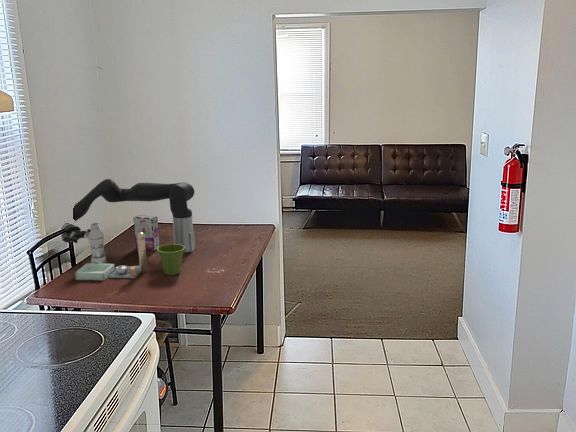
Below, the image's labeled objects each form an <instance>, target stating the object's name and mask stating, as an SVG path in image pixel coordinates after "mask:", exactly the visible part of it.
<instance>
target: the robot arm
mask: <svg viewBox="0 0 576 432" xmlns="http://www.w3.org/2000/svg"><path fill="white" fill-rule="evenodd" d="M194 195H195V189H194V187H193V185H191V184H190V183H188V182H183V181H182V182H177V183H176V182H175V183H159V182H158V183H157V182H138V183H136V184H134V185H133V186H131V187H130V188H121V187H119V186H118V185H117V183H116V182H115V181H114V180H113V179H112V178H107V179H103V180H102V181H101V182H99V183H98V184H97V185H96V186H94V187H93V188H92V189H91V190H90V191H89V192H88V193H87V194H86V195H85V196H84V197H82V198H81V199H80V200H79V201H78V202H76V203H74V205H75V206H74V208H73V219H74V220H75V222H77V221H78V220H80V219H81V218H82V217H84V216H85V215H86V214H87V213H88V211H89V210H90V207H92V206H91V205H92V204H93V203H94V202H95V200H96V199H98V198H99V197H102V198H103V199H104V200H105V201H106V202H109V203H122V202H156V201H157V202H158V201H163V200H167V199H169V207H170V212H171V214H172V227H173V241H174V243H173V244H180V245H183V246H184V247H185V249H184V250H183V254H185V253H193V251H194V250H195V249H196V242H195V241H196V239H195V230H194V228H193V226H194V224H193V210H192V209H191V208H188V203H187V202H188V201H190V200H191V199H192V198H193V197H194ZM67 228H68V231H69V233H68V232H65V233H63V234H62V235H61V236H60V237H61V241H63V242H65V243H66V244H67V243H69V242H70V243H75V244H77V243H78V241H79V240H81V239H89V237H88V236H89V233H90V231H91V228H88V229H86V230H82V229H81V228H80V227H79V226H77V225H74V223H73V224H69V223H65V224H64V225H63V226H62V228H61V229H67Z"/></svg>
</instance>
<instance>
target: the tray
mask: <svg viewBox="0 0 576 432" xmlns="http://www.w3.org/2000/svg"><path fill="white" fill-rule="evenodd" d="M115 268H116V264H115V263H106V264H92V263H91V262H90V263H89V262H88V263H87V262H86V263H85V264H84V265H82V267H80V268H78V270H76V271H75V272H74V278H75V279H74V280H76V281H106V280H107V279H108V278H109V275H111V274H112V273H113V272H114V271H115V270H116V269H115ZM105 279H106V280H105Z"/></svg>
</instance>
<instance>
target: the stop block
mask: <svg viewBox="0 0 576 432" xmlns="http://www.w3.org/2000/svg"><path fill="white" fill-rule="evenodd" d="M131 275H135V267H131Z"/></svg>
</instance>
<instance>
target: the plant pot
mask: <svg viewBox="0 0 576 432" xmlns="http://www.w3.org/2000/svg"><path fill="white" fill-rule="evenodd" d="M184 249H185V247H184V246H183V245H180V244H174V243H168V244H162V245H160V246H159V247H158V248H157V250H156V251H157V252H158V255H159V257H160V258H159V259H160V263H161V267H162V270H163V274H165V275H168V276H175V275H177V274H180V273H181V270H182V269H181V268H182V262H183V261H182V260H183V255H184V253H183V250H184Z"/></svg>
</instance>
